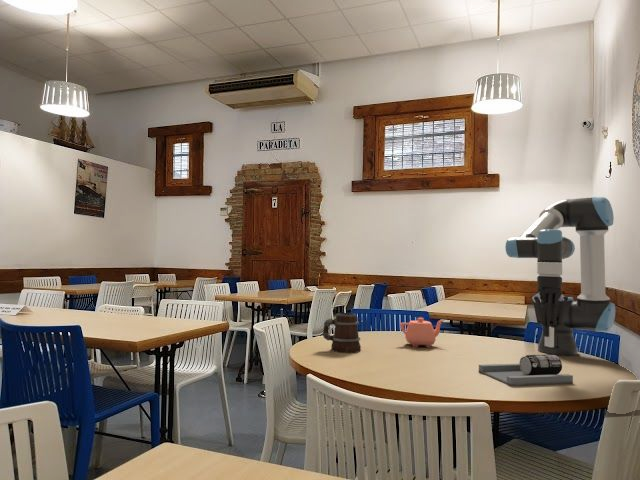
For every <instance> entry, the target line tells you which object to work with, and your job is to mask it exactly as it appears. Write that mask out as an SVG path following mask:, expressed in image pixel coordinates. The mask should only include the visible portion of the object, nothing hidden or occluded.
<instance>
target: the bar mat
mask: <svg viewBox="0 0 640 480" xmlns="http://www.w3.org/2000/svg"><path fill="white" fill-rule="evenodd" d="M478 372H479V373H481V374H483V375H485V376H487V377H490V378H492V379H493V380H494V379H495V380H497V381H499V382H501V383H504V384H506V385H507V386H510V387H513V386H514V387H516V386H539V385H540V386H541V385H543V386H544V385H566V384H567V385H568V384H573V383H574V375H572V374H570V373H567V374H566V373H564V374H563V373H561V374H560V373H559V374H557V375H530V376H529V375H526V374H524V373H523V372H522V371H521V369H520V363H498V364H496V363H494V364H493V363H491V364H488V363H487V364H478Z"/></svg>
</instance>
